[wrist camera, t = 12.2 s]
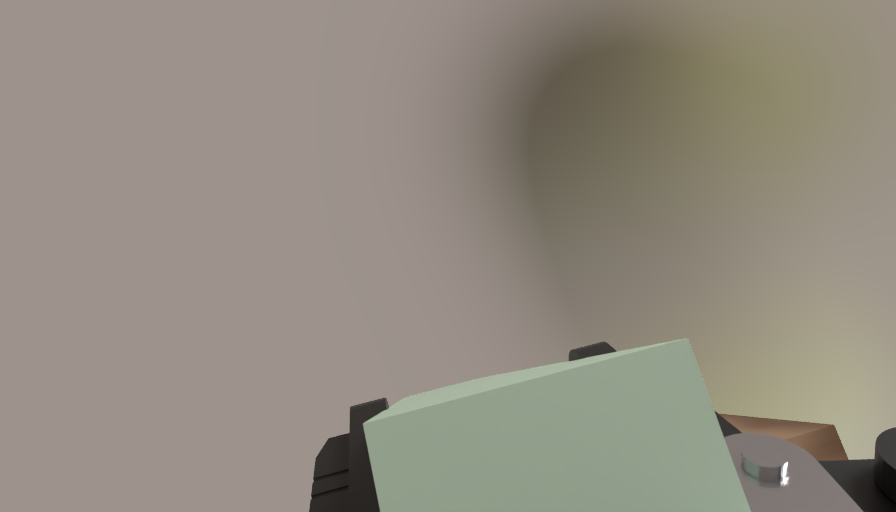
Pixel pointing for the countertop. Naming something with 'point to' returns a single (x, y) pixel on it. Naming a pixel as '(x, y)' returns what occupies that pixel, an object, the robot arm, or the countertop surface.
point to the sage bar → (560, 441)
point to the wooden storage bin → (796, 434)
